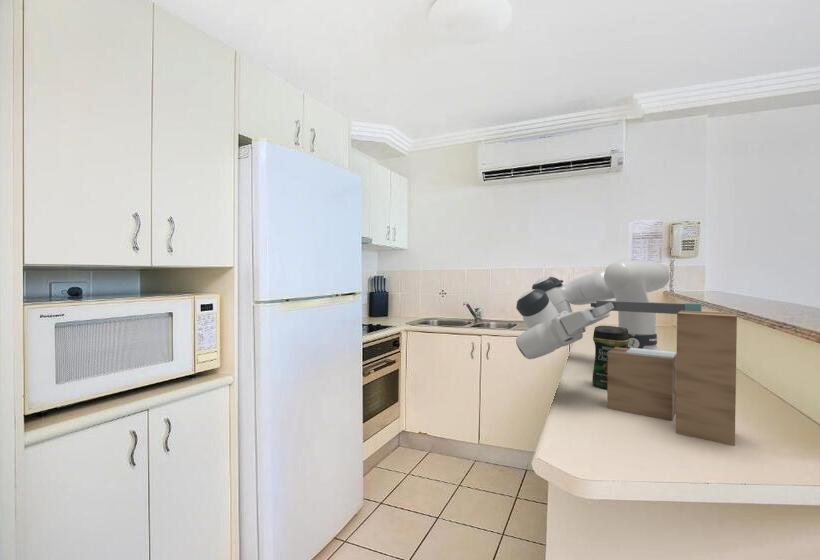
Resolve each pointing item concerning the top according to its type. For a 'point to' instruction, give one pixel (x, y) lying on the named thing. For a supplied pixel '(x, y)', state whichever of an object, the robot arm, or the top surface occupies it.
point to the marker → (650, 306)
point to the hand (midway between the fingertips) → (615, 304)
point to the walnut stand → (683, 378)
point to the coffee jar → (606, 350)
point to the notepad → (651, 353)
